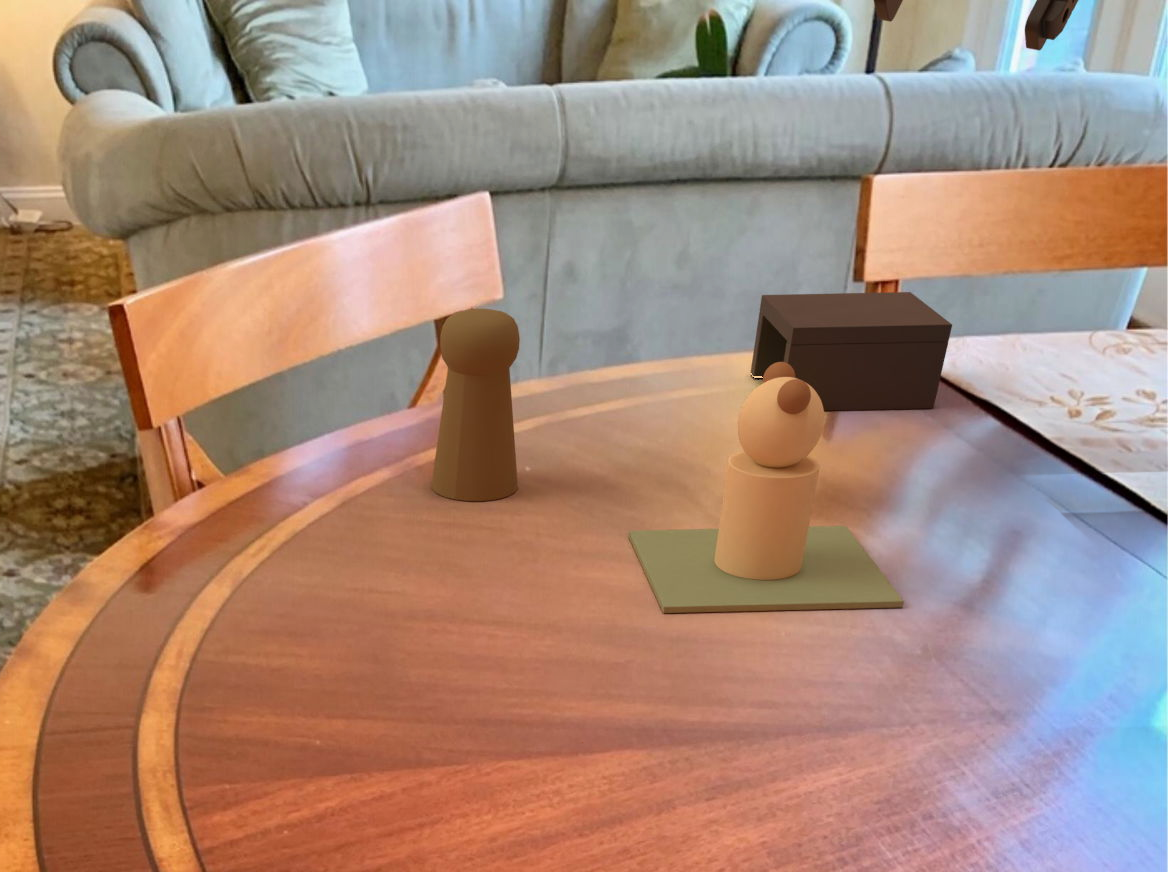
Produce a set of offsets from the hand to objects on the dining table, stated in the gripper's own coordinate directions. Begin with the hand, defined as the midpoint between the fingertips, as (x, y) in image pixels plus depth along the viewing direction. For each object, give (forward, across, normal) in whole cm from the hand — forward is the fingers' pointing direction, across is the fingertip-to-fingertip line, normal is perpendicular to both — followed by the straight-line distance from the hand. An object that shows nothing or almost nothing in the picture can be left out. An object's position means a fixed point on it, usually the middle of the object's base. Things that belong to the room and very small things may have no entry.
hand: (955, 25), depth 79 cm
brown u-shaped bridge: (+6, -11, +38) cm, 39 cm away
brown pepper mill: (+29, -21, +10) cm, 37 cm away
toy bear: (+27, +1, +7) cm, 28 cm away
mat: (+28, +2, +8) cm, 29 cm away
